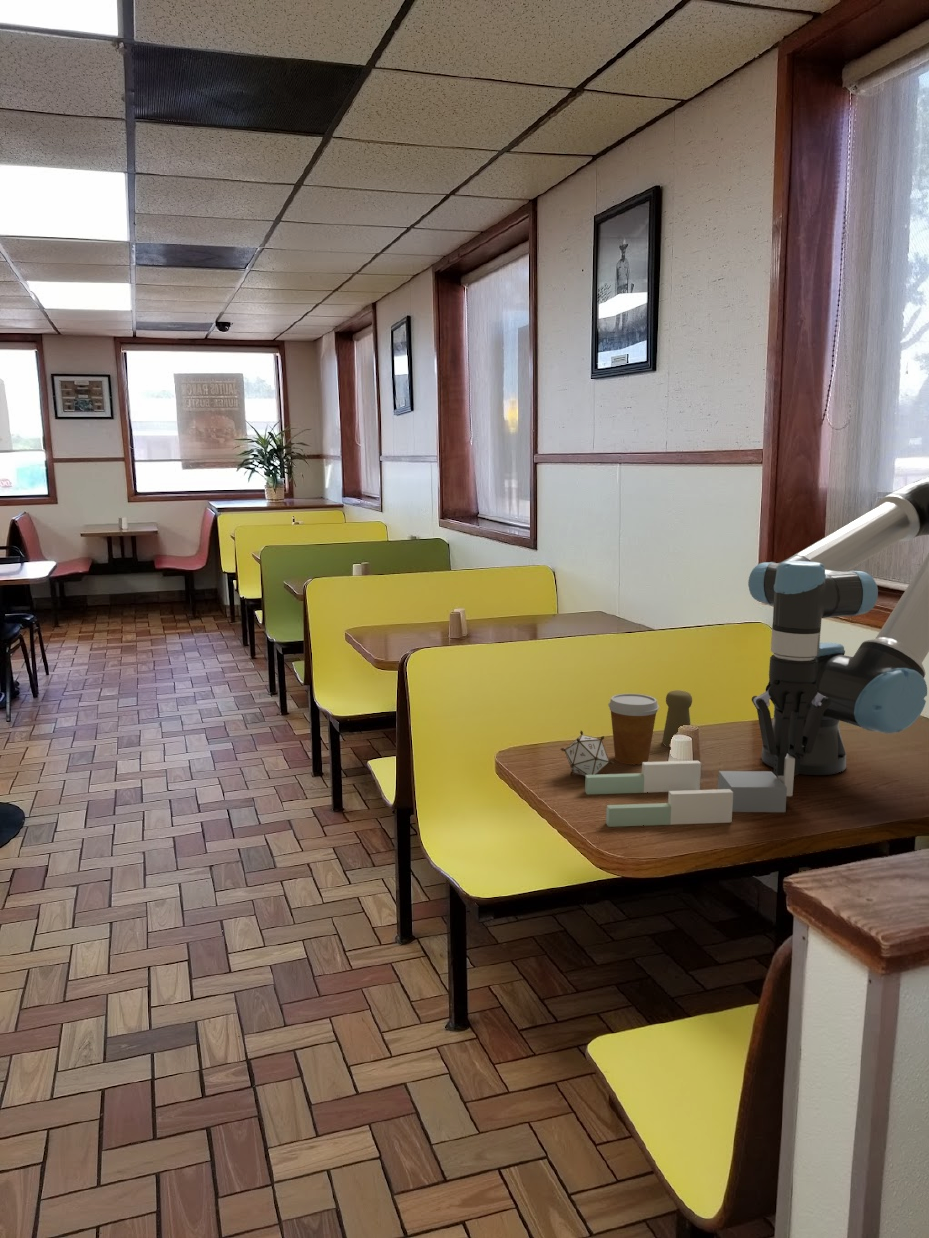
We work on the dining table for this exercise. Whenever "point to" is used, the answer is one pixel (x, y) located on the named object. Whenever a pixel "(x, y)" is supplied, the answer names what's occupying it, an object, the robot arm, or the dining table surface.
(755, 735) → the dining table surface
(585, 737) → the game die
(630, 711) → the disposable coffee cup
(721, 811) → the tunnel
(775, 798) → the slate block
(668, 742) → the pepper mill
